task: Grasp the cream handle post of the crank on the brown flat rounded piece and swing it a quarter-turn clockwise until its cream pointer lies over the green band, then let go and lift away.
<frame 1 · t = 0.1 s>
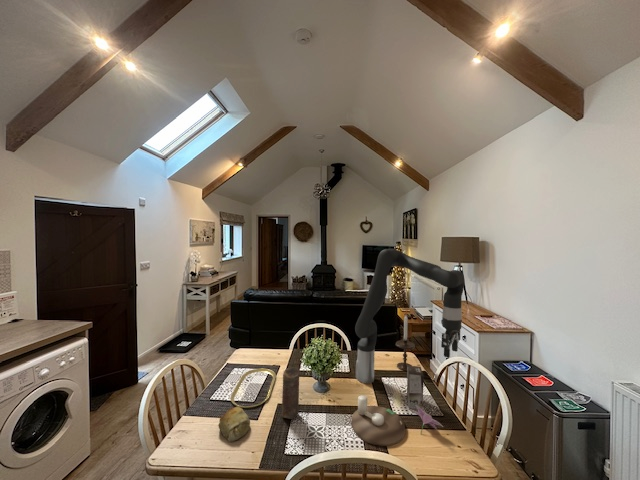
hand: (450, 353, 121), 29 cm above the table, fingers open, 8 cm apart
candlestick: (404, 367, 168), on the table
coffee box: (414, 403, 134), on the table
tuning crank: (370, 409, 121), point 5 cm above the table, hinge at 0.0°
candle: (290, 416, 124), on the table
lily: (426, 430, 116), on the table
brass oval ring: (254, 388, 146), on the table
pastry: (234, 430, 115), on the table
brown flat rounded piece: (377, 425, 118), on the table
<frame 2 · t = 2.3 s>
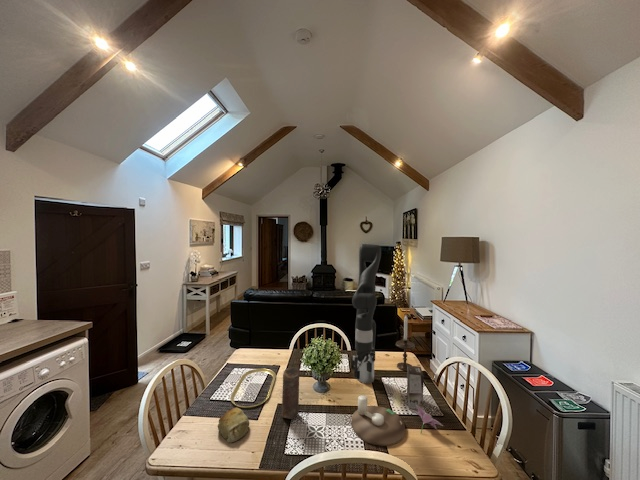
hand: (363, 375, 123), 19 cm above the table, fingers open, 8 cm apart
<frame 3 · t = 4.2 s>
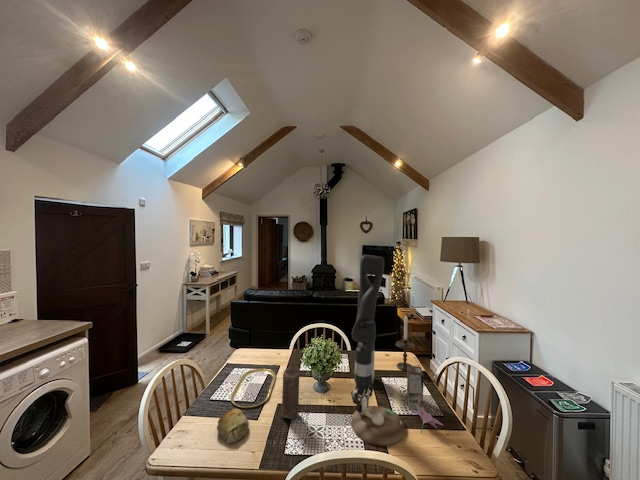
hand: (362, 409, 124), 3 cm above the table, fingers closed on tuning crank, 4 cm apart
tuning crank: (370, 409, 121), point 5 cm above the table, hinge at 0.0°, touching gripper
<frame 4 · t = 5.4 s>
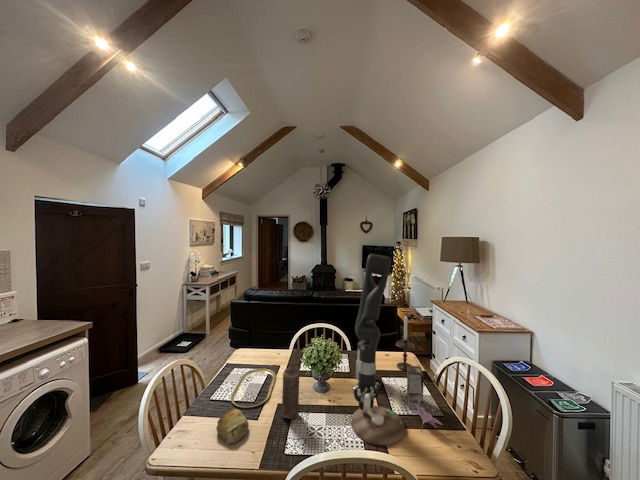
hand: (365, 407, 125), 3 cm above the table, fingers closed on tuning crank, 4 cm apart
tuning crank: (372, 409, 121), point 5 cm above the table, hinge at -14.9°, touching gripper
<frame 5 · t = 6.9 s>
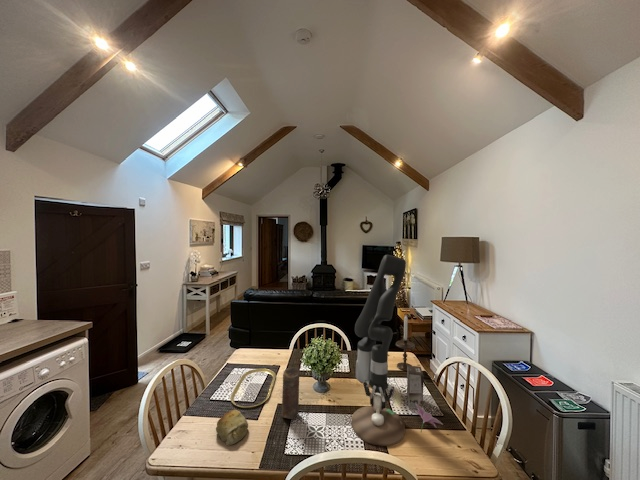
hand: (377, 406, 126), 3 cm above the table, fingers closed on tuning crank, 4 cm apart
tuning crank: (377, 408, 122), point 5 cm above the table, hinge at -55.5°, touching gripper
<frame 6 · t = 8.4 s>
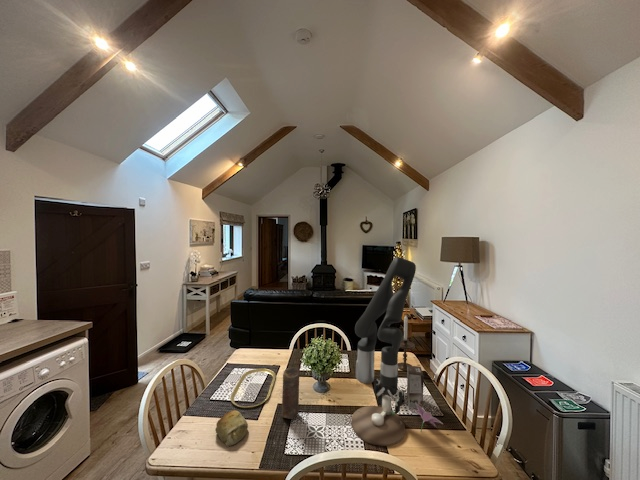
hand: (388, 408, 124), 4 cm above the table, fingers open, 8 cm apart
tuning crank: (382, 409, 121), point 5 cm above the table, hinge at -83.9°
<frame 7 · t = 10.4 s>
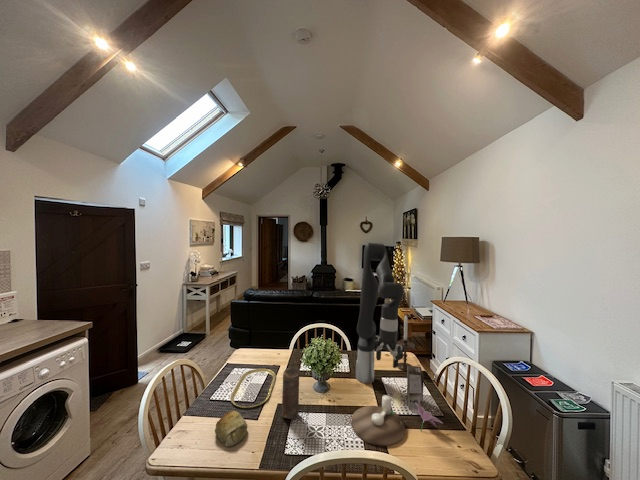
hand: (386, 363, 124), 23 cm above the table, fingers open, 8 cm apart
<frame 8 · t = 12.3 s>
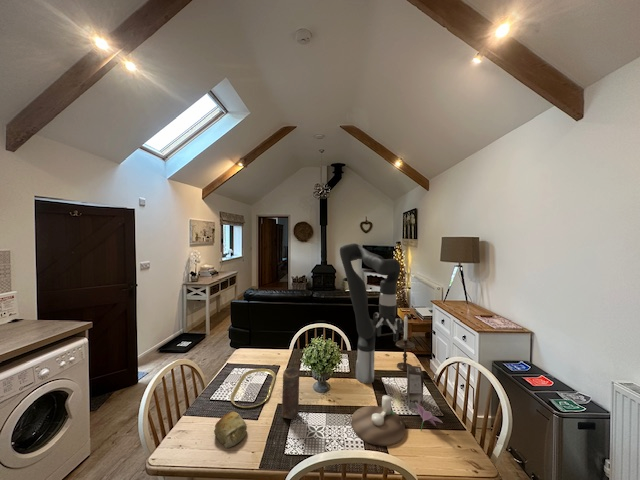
hand: (386, 338, 128), 33 cm above the table, fingers open, 8 cm apart
at the end: tuning crank at -84° (first picture: +0°); the gripper is holding nothing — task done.
